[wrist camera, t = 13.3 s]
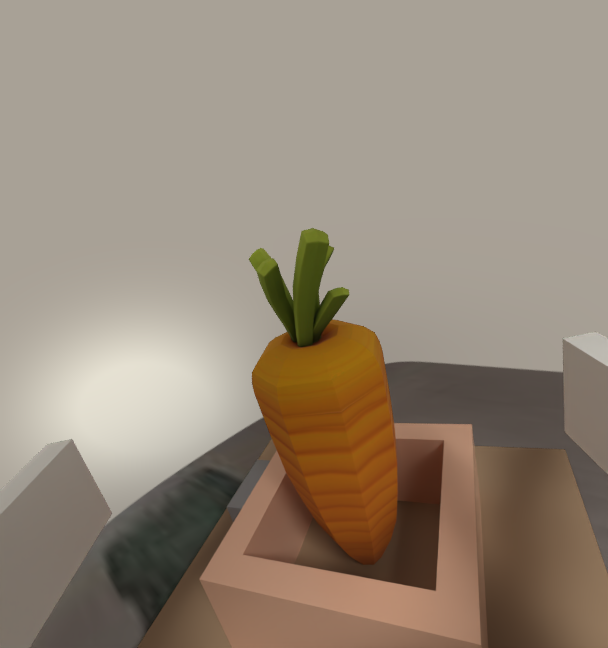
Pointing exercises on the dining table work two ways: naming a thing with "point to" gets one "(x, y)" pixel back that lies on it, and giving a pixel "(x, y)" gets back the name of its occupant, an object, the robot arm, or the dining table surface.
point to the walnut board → (422, 555)
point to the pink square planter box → (348, 590)
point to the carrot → (328, 405)
